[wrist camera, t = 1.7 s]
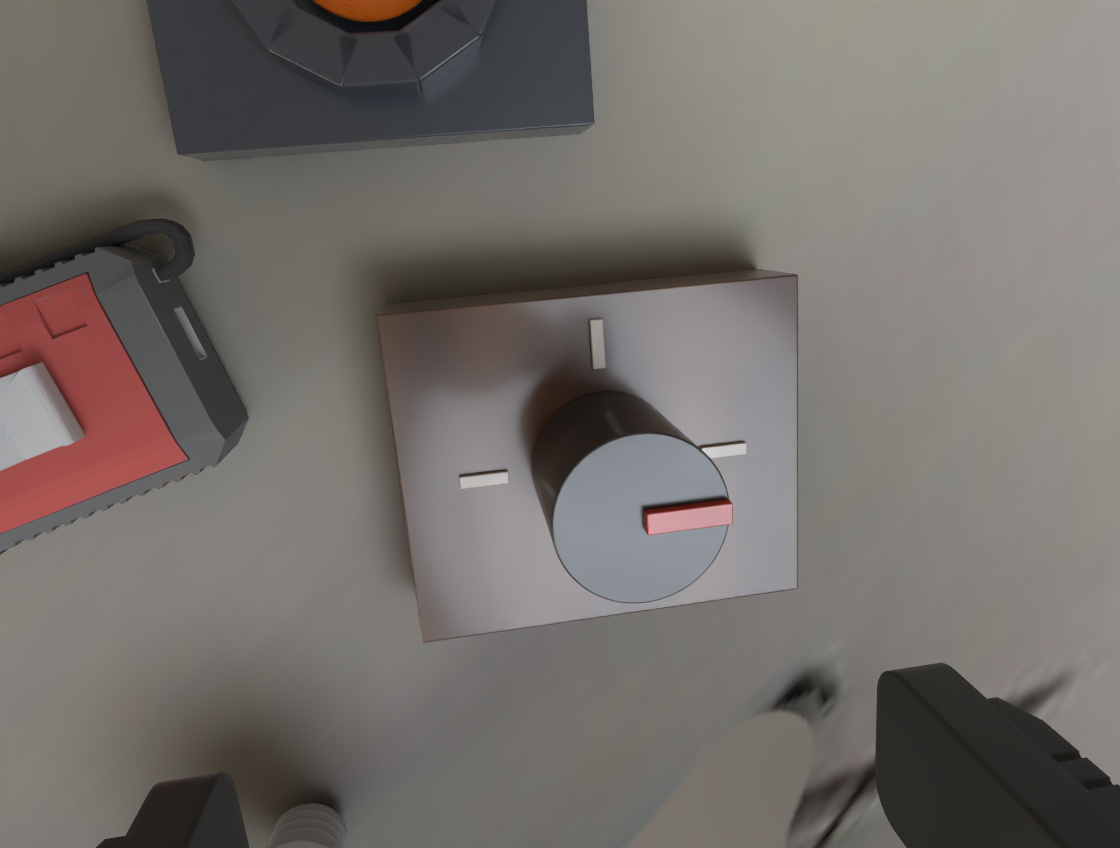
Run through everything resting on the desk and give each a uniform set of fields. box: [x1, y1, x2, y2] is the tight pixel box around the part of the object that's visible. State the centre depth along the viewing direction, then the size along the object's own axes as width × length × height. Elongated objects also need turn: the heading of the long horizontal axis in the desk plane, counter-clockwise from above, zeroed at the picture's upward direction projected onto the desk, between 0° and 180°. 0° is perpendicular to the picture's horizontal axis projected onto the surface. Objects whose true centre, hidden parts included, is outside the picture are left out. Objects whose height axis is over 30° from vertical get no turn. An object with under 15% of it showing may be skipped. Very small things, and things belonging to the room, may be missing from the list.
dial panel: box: [376, 269, 798, 643], centre depth 24 cm, size 12×10×3 cm
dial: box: [532, 392, 733, 604], centre depth 20 cm, size 4×4×5 cm
